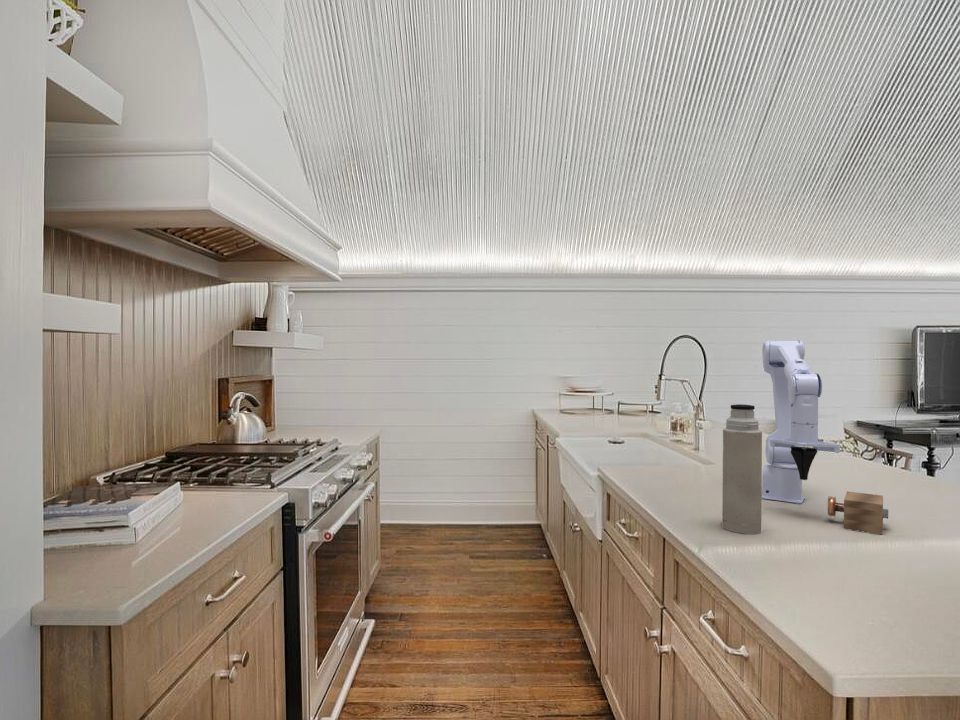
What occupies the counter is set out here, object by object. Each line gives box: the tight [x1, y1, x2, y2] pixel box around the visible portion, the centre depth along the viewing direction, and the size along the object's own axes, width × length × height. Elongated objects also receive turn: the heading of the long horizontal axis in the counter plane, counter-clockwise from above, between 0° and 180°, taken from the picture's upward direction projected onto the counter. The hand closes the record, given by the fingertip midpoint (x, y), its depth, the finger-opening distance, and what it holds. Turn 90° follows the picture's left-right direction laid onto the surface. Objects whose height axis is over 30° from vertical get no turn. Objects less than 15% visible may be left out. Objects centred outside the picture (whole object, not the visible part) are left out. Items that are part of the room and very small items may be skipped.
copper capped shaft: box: [827, 495, 889, 519], centre depth 128 cm, size 11×4×4 cm, turn 53°
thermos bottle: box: [721, 403, 763, 535], centre depth 125 cm, size 8×8×28 cm
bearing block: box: [843, 490, 884, 535], centre depth 128 cm, size 7×10×7 cm
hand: (803, 479), depth 135 cm, fingers closed
